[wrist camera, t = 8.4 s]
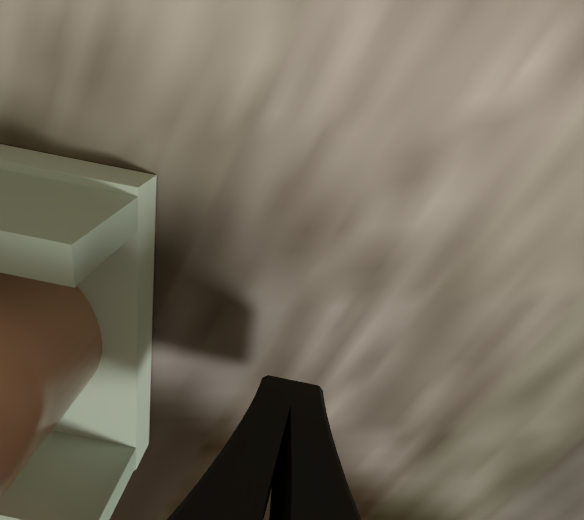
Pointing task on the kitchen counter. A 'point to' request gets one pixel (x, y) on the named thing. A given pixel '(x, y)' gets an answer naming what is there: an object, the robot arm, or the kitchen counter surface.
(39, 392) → the jar
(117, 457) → the pale green shallow tray
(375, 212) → the kitchen counter surface
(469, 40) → the kitchen counter surface
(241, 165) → the kitchen counter surface
